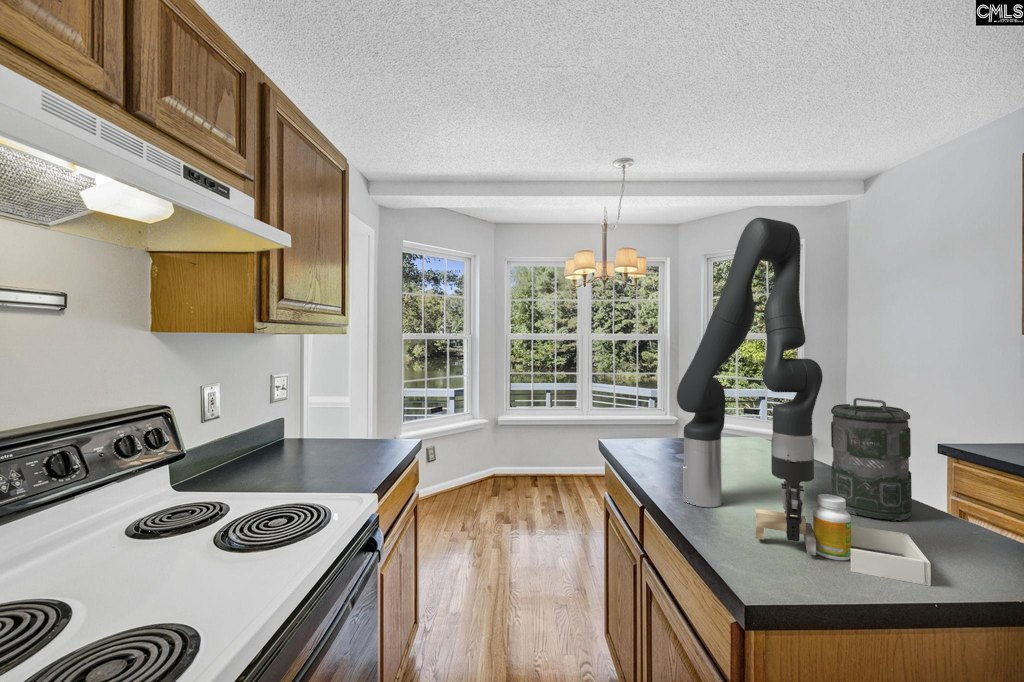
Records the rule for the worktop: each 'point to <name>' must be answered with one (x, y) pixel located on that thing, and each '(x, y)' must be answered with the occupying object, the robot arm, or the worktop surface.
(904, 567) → the box
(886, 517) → the canister
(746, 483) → the worktop surface
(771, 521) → the scraper
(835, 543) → the supplement bottle
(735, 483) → the worktop surface
